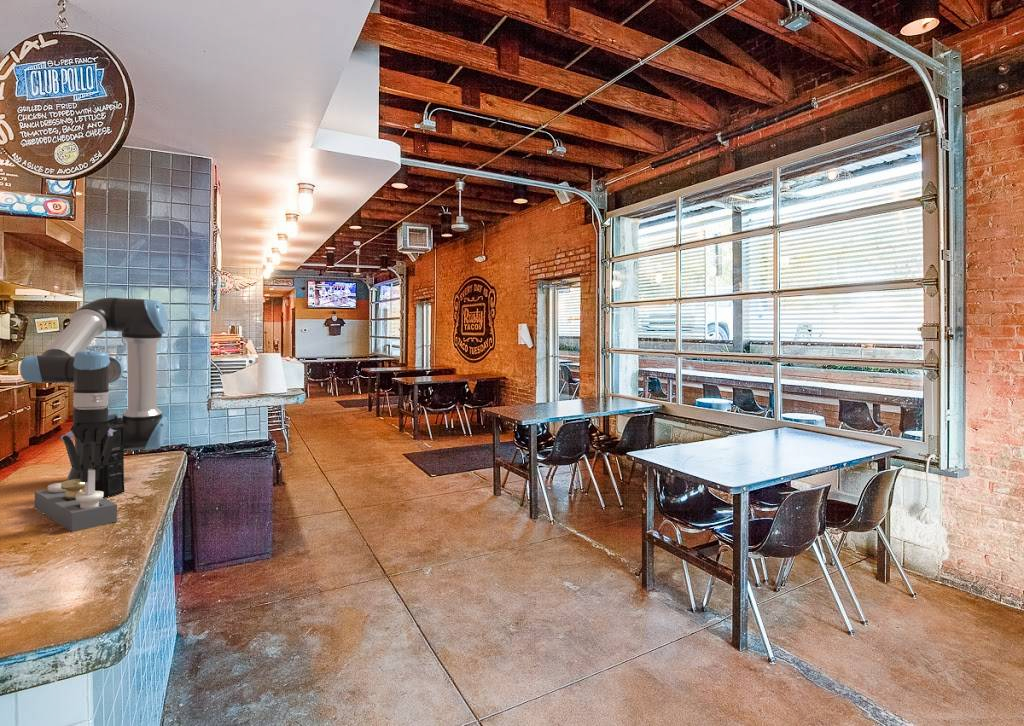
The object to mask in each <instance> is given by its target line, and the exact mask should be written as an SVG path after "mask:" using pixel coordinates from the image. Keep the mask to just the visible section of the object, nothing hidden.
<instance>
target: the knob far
mask: <svg viewBox="0 0 1024 726" xmlns="http://www.w3.org/2000/svg"><path fill="white" fill-rule="evenodd" d="M103 497H104V492H103V491H95V494H89V495H88V494H86V493H84V492H82V493H79V494H76V502H80V509H82V510H83V509H88V508H93V507H98V506H99V500H101V499H103Z"/></svg>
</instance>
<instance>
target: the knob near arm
mask: <svg viewBox="0 0 1024 726" xmlns="http://www.w3.org/2000/svg"><path fill="white" fill-rule="evenodd" d="M47 489H48V492H51V493H53V494H55V493H61V492H66V490H65V489H61V482H56V483H51V484H48V485H47ZM65 501H66V500H65Z"/></svg>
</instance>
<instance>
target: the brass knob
mask: <svg viewBox="0 0 1024 726" xmlns="http://www.w3.org/2000/svg"><path fill="white" fill-rule="evenodd" d="M60 483H61V489H65V490H66V501H72V500H76V494H79V493H82V492H84V488H85V482H84V483H83V482H81V480H80V479H72V480H68V479H66V480H63V481H62V482H60Z"/></svg>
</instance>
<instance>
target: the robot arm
mask: <svg viewBox="0 0 1024 726" xmlns="http://www.w3.org/2000/svg"><path fill="white" fill-rule="evenodd" d="M168 325H169V323H168V315H167V311H166V308H165V306H164V304H163V303H162V302H161V301H159V300H156V299H155V300H154V299H146V298H123V297H111V296H110V297H102V298H100V299H95V300H93V301H90V302H88V303H86V304H84V305H81V306H80V307H79V308H78V309H76V310H75V311H74V313H72V315H71V317H70V322H69V324H68V325H67V326H66V327H65V328H64V329H63V330H62V332H61V333H60V334H59V335H58V336H57V337H56V338H55V339H54V340H53V342H51V343H50V345H49V346H48V347H46V349H45V350H44V351H43V352H42V353H41V354H40V355H37V354H34V355H26V356H24V357H23V358H22V359H21V362H20V366H19V371H20V376H21V378H22V379H23V380H24V382H28V383H40V384H43V383H44V384H46V383H47V384H49V383H53V384H55V383H56V384H57V383H58V384H59V383H60V384H61V383H63V384H64V383H67V384H69V383H70V384H71V383H72V384H73V401H72V407H74V409H73V412H72V426H71V428H70V431H69V432H66V433H65V434H61V435H60V436H59V439H60V440H61V441H62V442H63V443H64V445H65V449H66V453H67V456H68V458H69V459H68V460H69V462H70V466H71V468H70V471H69V473H68V475H67V480H72V479H80V480H81V482H83V483H84V482H85V487H84V488H85V489H84V493H86V494H88V495H89V494H95V481H96V480H99V469H101V467H103V466H106V465H108V462H109V458H110V455H111V452H112V448H113V445H114V442H115V439H116V438H117V436H118V435H119V431H116V430H113V429H111V428H110V425H109V424H114V422H115V417H116V422H117V424H123V425H124V451H138V450H139V451H140V450H141V451H142V450H143V451H147V450H157V449H160V448H161V447H162V445H163V444H164V442H165V439H166V437H167V432H168V427H169V426H168V425H169V421H168V417H166V416H163V412H162V410H161V409H160V408H158V352H157V351H158V349H157V348H158V346H157V345H158V342H159V341H161V339H162V338H163V335H164V334H167V332H168ZM104 332H121V338H122V339H123V340H124V341H125V342H126V345H127V346H126V347H127V348H126V350H127V352H126V353H127V359H126V360H127V361H126V362H127V409H126V410H125V411H124V412H123V413H122V417H119V416H118V414H117V413H116V412H110V413H109V409H108V406H109V394H110V393H109V391H110V390H109V388H110V386H109V385H110V384H111V383H114V382H116V381H117V380H119V379H120V378H121V377H123V374H124V372H125V367H124V364H123V363H122V362H121V361H120V359H118V358H116V357H113V356H110V354H109V353H108V352H107V351H99V350H98V351H96V350H94V351H93V350H91V351H90V350H89V351H88V350H87V348H88V347H89V346H90V344H91V343H92V341H93V340H94V339H95V338H96V337H97V336H99V335H101V334H103V333H104ZM106 433H107V436H108V437H107V439H106V442H105V445H104V449H103V452H102V455H101V459H100V445H101V439H102V438H103V437H104V435H105V434H106ZM73 440H74V441H73Z"/></svg>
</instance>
